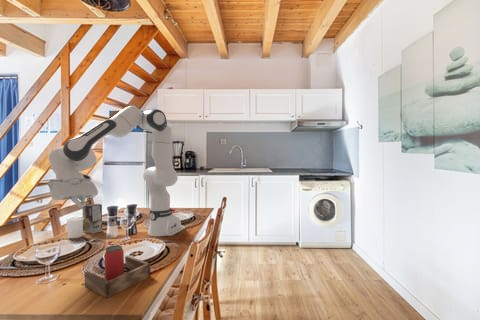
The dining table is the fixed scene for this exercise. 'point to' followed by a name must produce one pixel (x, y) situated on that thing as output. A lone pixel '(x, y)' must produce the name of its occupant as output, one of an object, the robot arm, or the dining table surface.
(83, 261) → the dining table surface
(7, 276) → the dining table surface
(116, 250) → the beer can
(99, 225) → the coffee box
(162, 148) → the robot arm
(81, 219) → the white cup
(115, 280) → the walnut corral
